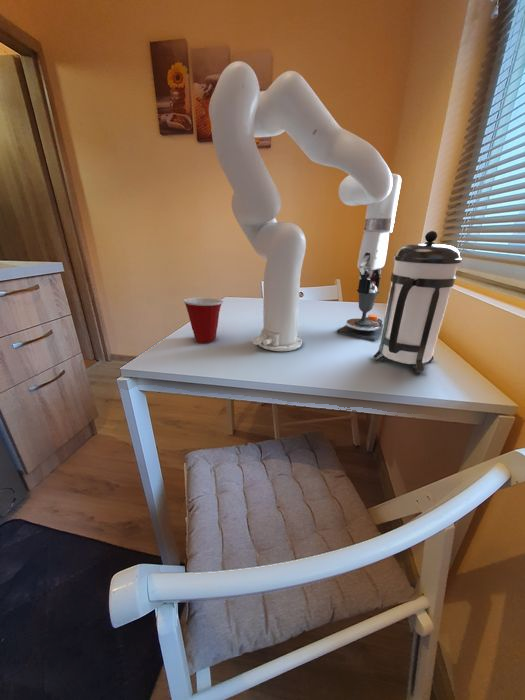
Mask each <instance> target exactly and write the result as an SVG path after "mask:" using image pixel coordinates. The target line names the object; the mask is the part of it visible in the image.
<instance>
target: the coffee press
mask: <svg viewBox="0 0 525 700" xmlns="http://www.w3.org/2000/svg"><path fill="white" fill-rule="evenodd" d="M424 238H425V241H426V242H424V243H413V244H407V245H403V247H400V248H399V250H397V252H396V255H395V254H394V256H393V261H394V265H393V271H392V272H391V276H390V279H389V280H390V286H389V291H388V297H387V302H386V308H385V313H384V317H383V322H382V324H383V328H382V334H381V337H380V338H379V346H378V350H377V352H375V354H373V356H372V359H373V361H375V362H376V363H380V362H381V361H382V360H384V359H386V358H387V359H389V360H391V361H394V362H398V363H401V364H406V365H411V367H412V371H413V373H414V374H423V372H424V365H423V364H425V363H428V362H432V361H434V357H435V356H434V352H435V349H436V346H437V341H438V338H439V335H440V331H441V328H442V324H443V320H444V317H445V312H446V309H447V305H448V302H449V298H450V294H451V290H452V288H453V287H454V285H455V281H456V278H457V277H456V274H457V273H456V272H457V269H458V266H459V265H460V263H462V258H461V256H460V251H459V250H458V248H456V247H454V246H452V245H447V244H437V243H436V244H435V241H436V240H437V238H438V233H437V232H436V231H435V230H429V231H428V232H426V234H425V236H424Z"/></svg>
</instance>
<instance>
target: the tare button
mask: <svg viewBox="0 0 525 700" xmlns="http://www.w3.org/2000/svg"><path fill="white" fill-rule="evenodd" d="M367 317H368V320H372V321H377V320H378V319H379V315H378V314H368V315H367Z"/></svg>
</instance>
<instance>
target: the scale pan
mask: <svg viewBox="0 0 525 700" xmlns="http://www.w3.org/2000/svg"><path fill="white" fill-rule="evenodd" d="M360 319H361V318H350V319H348V320H346V323H345V326H346V325H347V326H349V327H351V328H354V329H358V330H367V331H371V330H377V329H379V327H380V324H379V323H377V322H375V321H372V320H368V319H366V320H367V321H368V322H371V325H359V324H356V323H355V321H357V320H360Z"/></svg>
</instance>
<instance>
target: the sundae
mask: <svg viewBox="0 0 525 700" xmlns="http://www.w3.org/2000/svg"><path fill="white" fill-rule="evenodd" d="M375 275H376V274H374V275H373V276H374V277H375ZM372 278H373V277H372ZM372 278H371V279H372ZM371 279H370V280H371ZM357 287H359V285H358V286H357ZM356 291H357V292H358V288H357V289H356ZM380 293H381V291H380V290H377V287H376V286H375V282H374V281H372V282H371V285H370V291H369V294H363V293H358V309H359V310H360V311H361V313H362V315H361V317H360V318H359V319H360V320H357V321H355V323H356V324H359V325H371V322H368V321H367V320H366V317H367V314H368V313H369V312H371V310H373V308H374V305H375V303H376V299H377V296H378V295H380Z"/></svg>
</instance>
